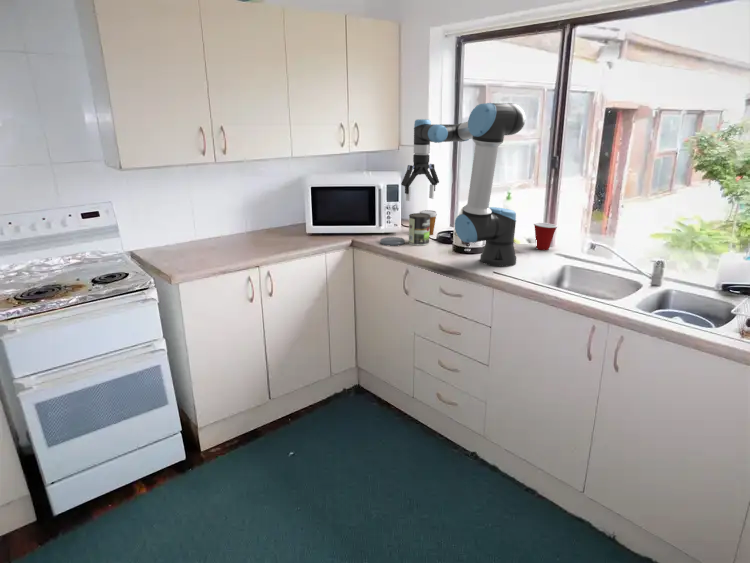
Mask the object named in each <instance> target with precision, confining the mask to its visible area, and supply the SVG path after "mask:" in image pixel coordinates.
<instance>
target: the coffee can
mask: <svg viewBox="0 0 750 563" xmlns="http://www.w3.org/2000/svg"><path fill="white" fill-rule="evenodd" d="M408 216H409V217H408V219H409V221H408V244H409V245H411V246H417V247H419V246H420V247H421V246H429V244H430V235H429V232H430V215H429V214H424V213H420V212H417V213H414V212H413V213H410V214H409V215H408Z"/></svg>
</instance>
